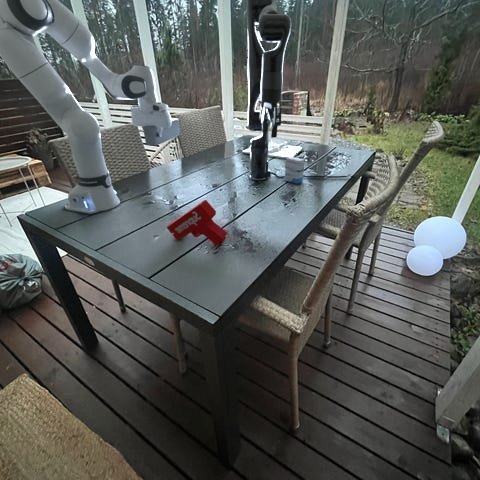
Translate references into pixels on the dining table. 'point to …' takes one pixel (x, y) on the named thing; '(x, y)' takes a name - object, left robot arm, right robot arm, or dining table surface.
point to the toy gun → (198, 224)
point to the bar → (167, 133)
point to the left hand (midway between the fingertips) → (153, 136)
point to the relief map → (280, 150)
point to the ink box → (294, 170)
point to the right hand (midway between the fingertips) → (269, 135)
